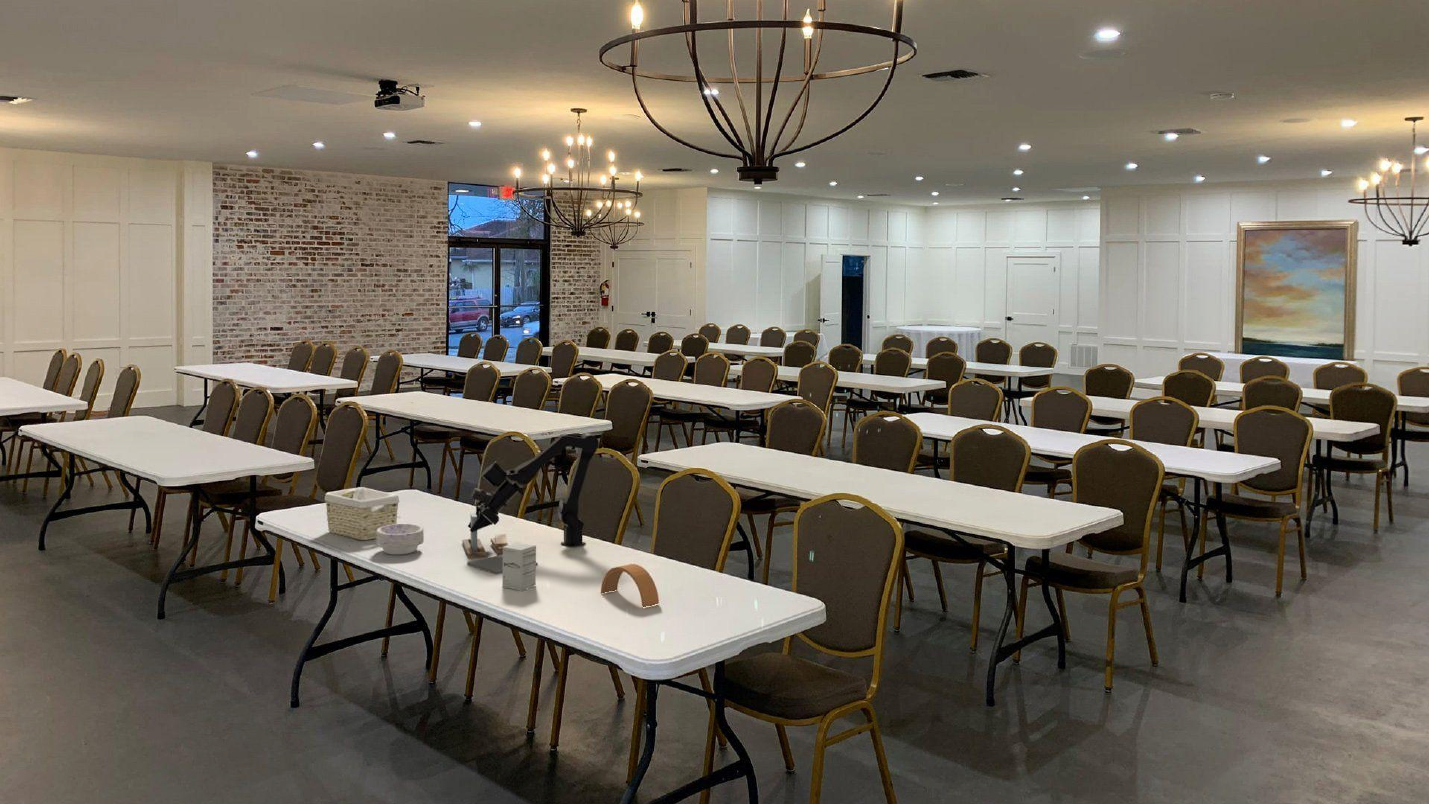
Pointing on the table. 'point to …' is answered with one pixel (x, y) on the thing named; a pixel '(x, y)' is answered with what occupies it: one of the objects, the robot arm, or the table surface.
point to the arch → (639, 577)
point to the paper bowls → (400, 538)
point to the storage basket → (360, 512)
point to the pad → (490, 564)
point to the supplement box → (519, 566)
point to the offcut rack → (496, 542)
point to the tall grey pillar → (473, 533)
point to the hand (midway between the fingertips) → (469, 529)
